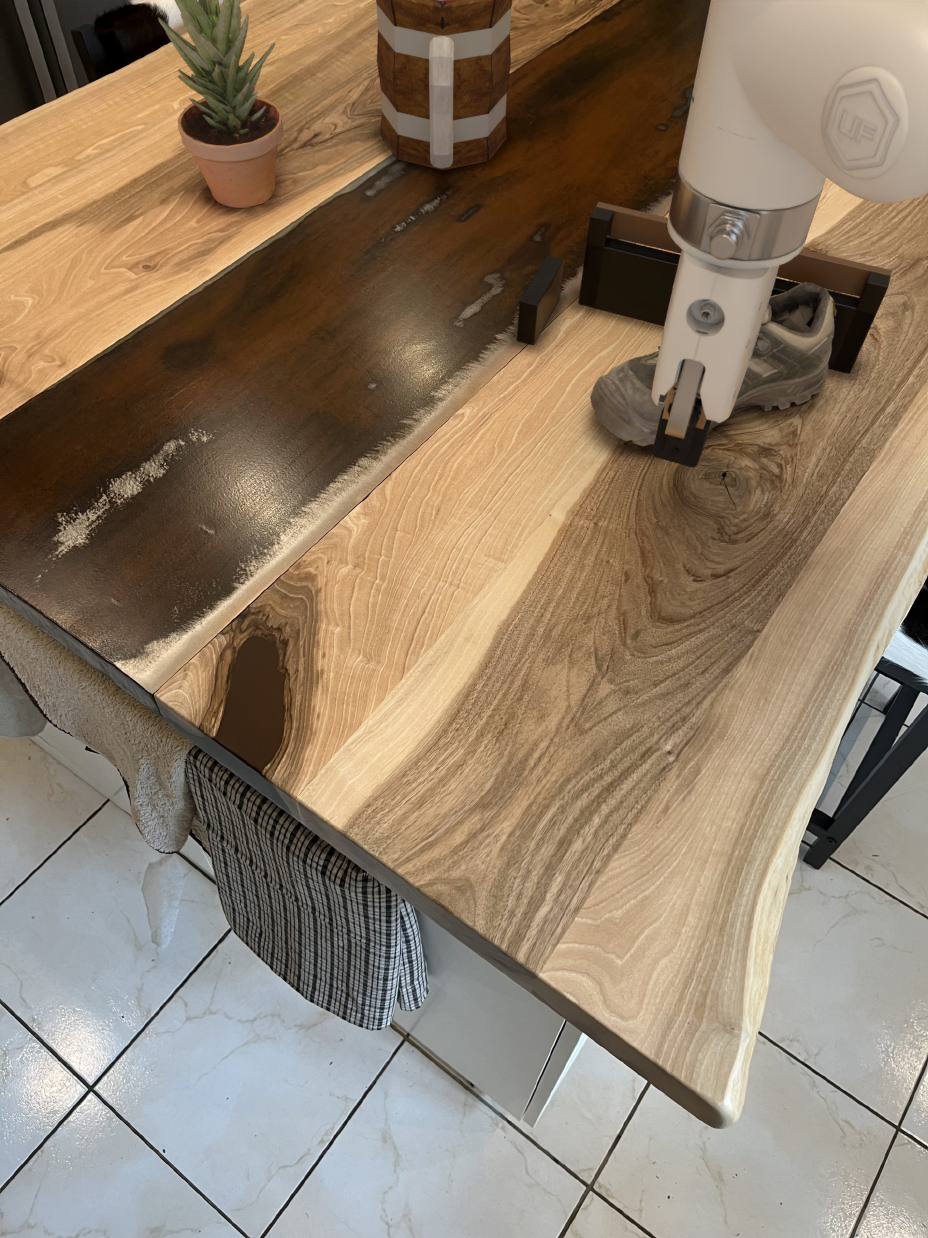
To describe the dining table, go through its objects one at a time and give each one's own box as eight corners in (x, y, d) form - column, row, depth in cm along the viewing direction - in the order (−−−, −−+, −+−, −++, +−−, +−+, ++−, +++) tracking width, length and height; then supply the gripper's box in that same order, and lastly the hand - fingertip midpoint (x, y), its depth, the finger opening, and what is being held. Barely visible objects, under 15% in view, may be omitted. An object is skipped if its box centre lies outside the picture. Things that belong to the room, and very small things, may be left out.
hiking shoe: (557, 367, 75) (627, 295, 64) (764, 326, 82) (861, 254, 71) (593, 476, 75) (670, 422, 63) (799, 425, 82) (901, 368, 71)
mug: (384, 103, 104) (376, -55, 92) (505, 106, 104) (514, -51, 92) (372, 201, 93) (362, 36, 80) (509, 204, 93) (519, 40, 81)
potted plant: (213, 228, 90) (147, -78, 69) (181, 180, 94) (110, -120, 74) (310, 202, 92) (274, -100, 72) (274, 157, 97) (230, -138, 77)
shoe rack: (854, 356, 80) (892, 269, 73) (836, 427, 75) (876, 340, 68) (551, 279, 86) (561, 192, 79) (516, 340, 81) (523, 252, 74)
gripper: (785, 299, 46) (703, 546, 60) (835, 153, 54) (752, 402, 69) (635, 264, 47) (592, 513, 62) (706, 127, 55) (652, 376, 70)
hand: (676, 454), depth 65 cm, fingers closed
